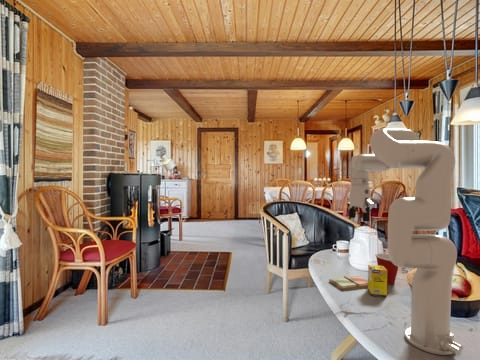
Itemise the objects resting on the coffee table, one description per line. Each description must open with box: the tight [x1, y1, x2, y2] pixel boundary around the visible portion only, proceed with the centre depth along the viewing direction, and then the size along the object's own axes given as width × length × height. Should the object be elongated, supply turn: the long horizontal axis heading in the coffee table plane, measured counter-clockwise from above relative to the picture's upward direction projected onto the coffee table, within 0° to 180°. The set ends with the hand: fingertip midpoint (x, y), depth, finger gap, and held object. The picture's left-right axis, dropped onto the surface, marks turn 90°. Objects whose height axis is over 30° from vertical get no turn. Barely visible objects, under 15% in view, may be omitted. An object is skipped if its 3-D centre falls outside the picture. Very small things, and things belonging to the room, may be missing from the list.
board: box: [328, 275, 368, 292], centre depth 126 cm, size 10×16×2 cm, turn 106°
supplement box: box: [367, 264, 388, 298], centre depth 117 cm, size 6×6×11 cm
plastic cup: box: [375, 253, 399, 285], centre depth 129 cm, size 11×11×12 cm
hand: (358, 219), depth 131 cm, fingers open, 9 cm apart
